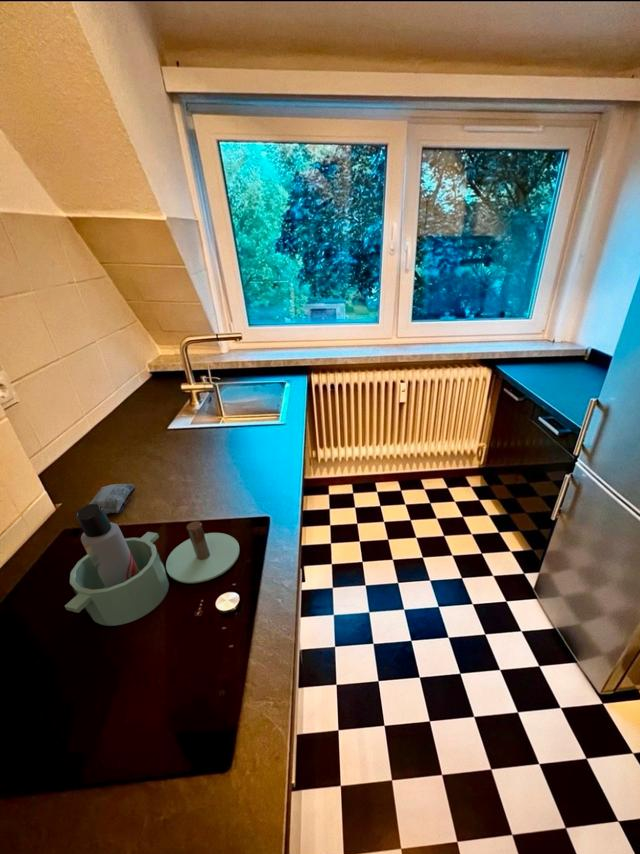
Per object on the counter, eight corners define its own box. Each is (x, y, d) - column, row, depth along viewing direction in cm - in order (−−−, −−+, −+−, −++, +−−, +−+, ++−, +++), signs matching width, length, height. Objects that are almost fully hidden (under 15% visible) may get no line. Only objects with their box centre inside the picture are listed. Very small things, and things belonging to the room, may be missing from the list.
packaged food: (84, 522, 93) (76, 505, 90) (105, 494, 103) (99, 479, 100) (122, 519, 94) (115, 502, 91) (140, 492, 104) (134, 476, 101)
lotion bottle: (151, 581, 76) (114, 498, 65) (138, 605, 71) (96, 519, 60) (122, 582, 75) (80, 499, 65) (106, 606, 71) (59, 520, 60)
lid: (151, 578, 77) (136, 543, 72) (195, 532, 89) (185, 499, 84) (215, 591, 74) (204, 556, 69) (252, 542, 86) (245, 509, 81)
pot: (57, 629, 67) (34, 596, 63) (137, 555, 83) (123, 524, 78) (122, 646, 64) (103, 613, 60) (192, 566, 80) (181, 535, 75)
